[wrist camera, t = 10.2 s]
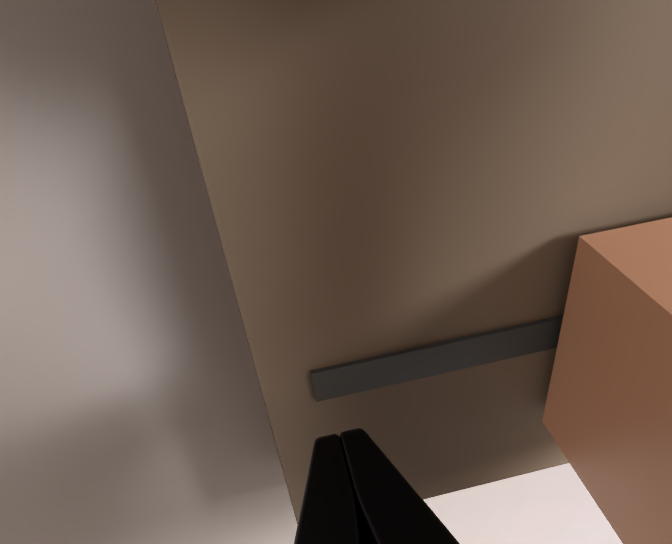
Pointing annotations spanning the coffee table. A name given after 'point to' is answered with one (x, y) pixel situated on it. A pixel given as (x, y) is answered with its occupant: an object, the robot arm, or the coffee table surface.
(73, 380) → the coffee table surface
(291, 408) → the fader panel
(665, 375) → the block
